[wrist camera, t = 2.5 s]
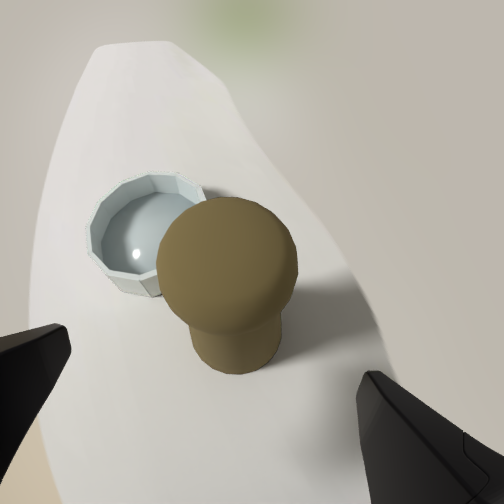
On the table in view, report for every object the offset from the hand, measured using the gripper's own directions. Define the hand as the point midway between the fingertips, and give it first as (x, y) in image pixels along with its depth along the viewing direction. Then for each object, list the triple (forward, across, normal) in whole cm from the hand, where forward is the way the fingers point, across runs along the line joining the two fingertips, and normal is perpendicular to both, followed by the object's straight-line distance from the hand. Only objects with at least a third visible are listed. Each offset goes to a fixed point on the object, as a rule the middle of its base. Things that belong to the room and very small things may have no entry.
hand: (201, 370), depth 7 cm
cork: (+11, 0, +5) cm, 12 cm away
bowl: (+15, +7, 0) cm, 17 cm away
